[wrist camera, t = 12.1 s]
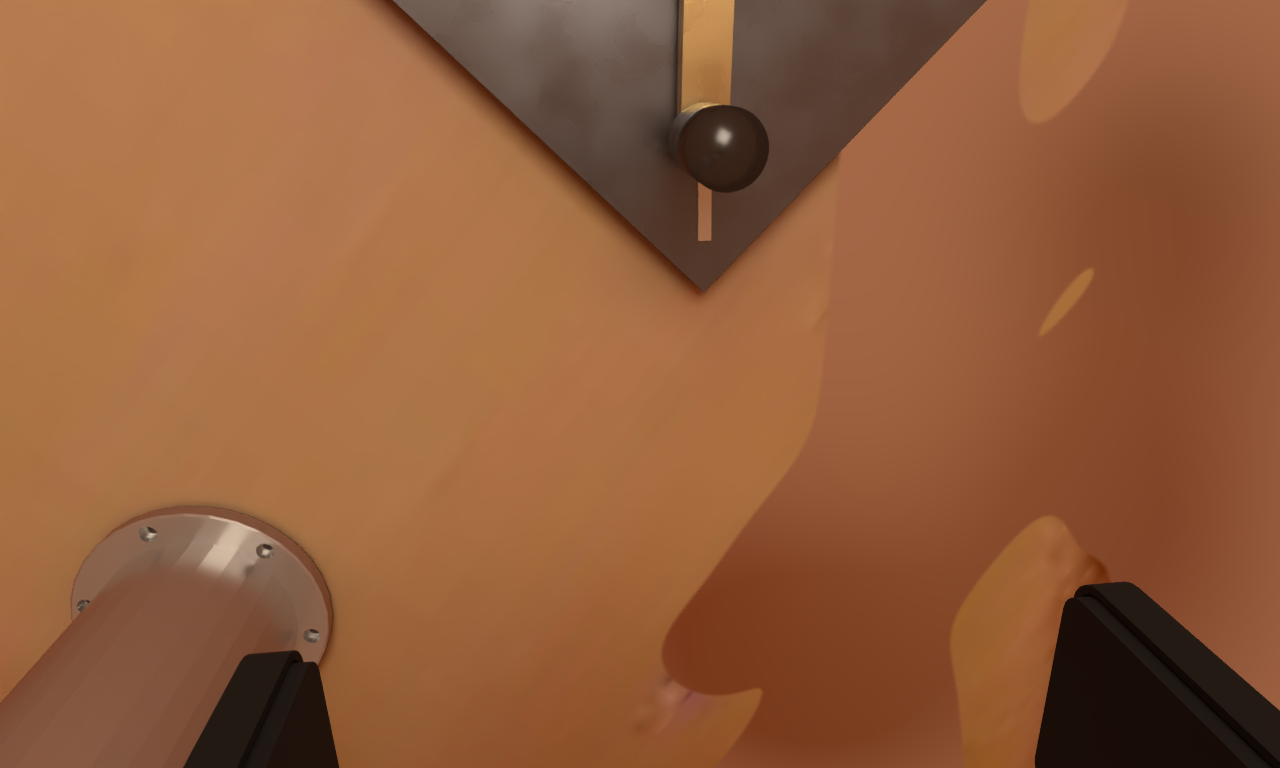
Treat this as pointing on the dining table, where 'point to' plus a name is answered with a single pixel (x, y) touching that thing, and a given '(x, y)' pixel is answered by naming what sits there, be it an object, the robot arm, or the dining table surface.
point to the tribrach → (647, 96)
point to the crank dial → (712, 104)
